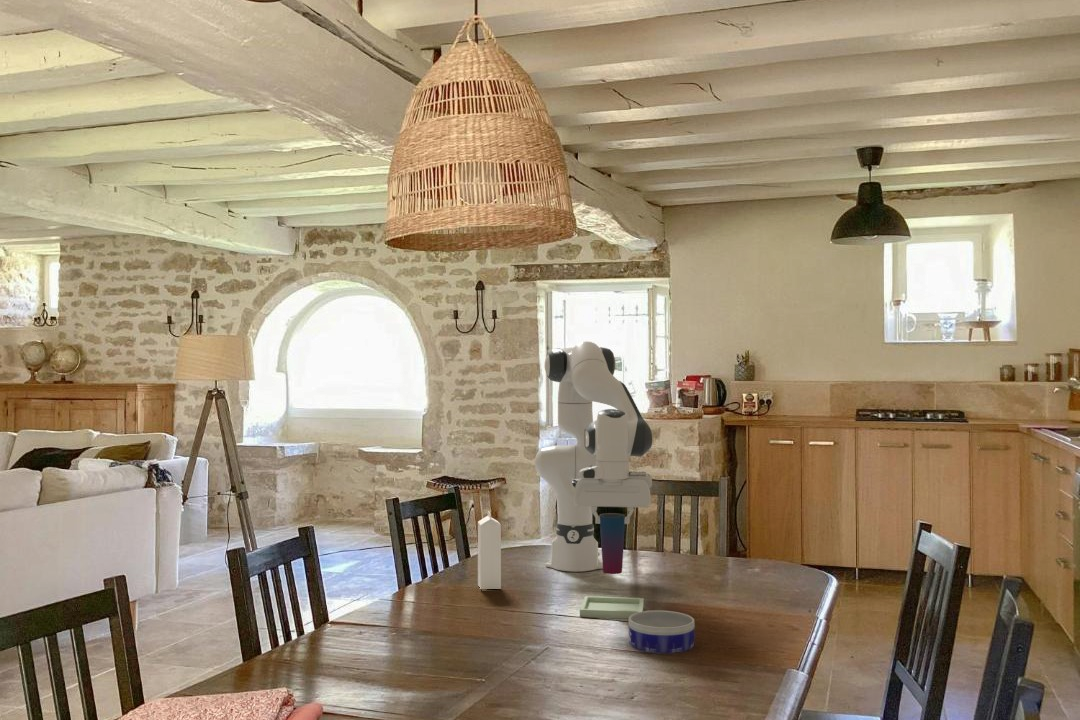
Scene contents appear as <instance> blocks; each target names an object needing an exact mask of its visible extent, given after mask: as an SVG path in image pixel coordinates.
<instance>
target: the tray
mask: <svg viewBox="0 0 1080 720" xmlns="http://www.w3.org/2000/svg"><path fill="white" fill-rule="evenodd" d="M644 599H645V598H643V597H623V596H622V597H620V596H619V597H618V596H594V595H593V596H592V595H591V596H590V595H589V596H587V595H586V596H585V595H584V597H583V599H582V603H581V605H580V607H579V617H580V618H581V617H583V618H584V617H585V618H603V619H605V618H607V619H608V618H609V619H610V618H611V619H629V616H631V615H632V614H634V613H637V612H642V611H644V607H645V606H644V605H645V604H644V601H645V600H644Z"/></svg>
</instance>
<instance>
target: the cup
mask: <svg viewBox="0 0 1080 720" xmlns="http://www.w3.org/2000/svg"><path fill="white" fill-rule="evenodd" d="M599 516H600V524H599V526H600V527H599V529H600V531H599V532H600V542H601V545H600V547H601V560H602V564H603V568H602V573H604V574H607V575H621V574H622V573H623V562H624V560H623V559H624V542H625V526H626V524H624V521H625V517H626V514H624V513H617V512H613V513H612V512H608V513H605V512H604V513H600V514H599Z"/></svg>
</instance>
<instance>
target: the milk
mask: <svg viewBox="0 0 1080 720" xmlns="http://www.w3.org/2000/svg"><path fill="white" fill-rule="evenodd" d="M501 582H502V524H501V523H500V522H499V521H498V520H497V519H495V518H493V517H492V514H491V512H490V511H489V510H487V515H486V516H485V517H483V518H482V519H479V520H478V521H477V587H478V586H479V587H480V588H479V587H478V588H479V590H480V589H501V590H502V583H501Z"/></svg>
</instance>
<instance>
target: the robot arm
mask: <svg viewBox="0 0 1080 720" xmlns="http://www.w3.org/2000/svg"><path fill="white" fill-rule="evenodd" d="M616 364H617V362H616V358H615V355H614V352H613V351H612V350H611V349H610V348H607V347H601V346H600V347H599V345H598V344H596V343H594V342H592V341H581V342H579V343H577V344H576V345H575V346H574V347H565V348H564V347H563V348H561V347H557V348H553V349H550V350H549V351H548V352H547V354H546V357H545V360H544V370H545V374H546V377H547V378H548V379H549V381H551V382H556V383H558V384H559V385H558V392H557V424H558V425H557V426H558V428H559V429H560V430H561V431H562V432H564V433H565V434H567V435H570V436H571V437H573V438H575V440H577V444H573V445H567V444H566V445H565V444H564V445H561V444H560V445H556V444H555V445H549V446H545V447H541V448H540V449H539V450H538V452H537V453H536V455H535V457H534V468H535V471H536V473H537V474H538V475H539V477H541V478H542V479H543V480H544V481H545V482H546V483H548V485H549V486H550V487H551V489H552V491H553V492H554V496H555V498H556V505H557V506H556V507H557V508H556V510H557V522H556V527H555V530H556V533H555V534H556V537H555V538H553V539H552V541H551V549H550V551H551V552H550V555H551V556H550V560H549V561H546V563H545V567H546V568H551V569H555V570H557V571H564V572H576V573H577V572H588V571H594V570H598V569H599V570H600V569H602V570H603V564H602V557H600V552H599V542H598V541H597V540H596V539H595V536H594V534H595V531H594V530H595V526H594V523H593V517H594V518H595V525H596V524H597V525H600V515H598V512H597V510H598V507H600V508H601V507H603V508H627V512H628V514H627V516H625V521H624V524H625V525H630V518H631V516H632V514H634V508H642V509H643V508H645V509H646V508H649V507H650V506H651V504H652V501H651V500H652V499H651V498H652V497H651V491H650V490H651V488H652V486H653V477H652V475H650V474H649V473H647V472H646V471H630V458H629V456H630V457H638V458H639V457H642V456H644V455H645V454H646V453H647V452H649V450H650V449H651V448H652V447H653V434H652V429H651V428H650V425H649V423H647V421H646V420H645V419H644V417H643V415H642V414H641V412H640V409H639V408H638V406H637V404H636V402H635V401H634V398H633V396H632V395H631V393H630V390H629V389H628V387H627V386H626V384H625V383H624V382H622V381H620V380H619V379H617V378H616V377H615V376H614V374H615V370H616V368H617V367H616V366H617V365H616ZM593 402H595V403H600V404H604V405H607V406H611V407H612V408H608V409H607V408H606V409H602V410H600V411H598V413H597V416H596V420H595V421H594V418H593V417H594V416H593ZM613 408H614V409H613ZM575 480H578V481H576V484H575V486H574V484H573V481H575Z"/></svg>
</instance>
